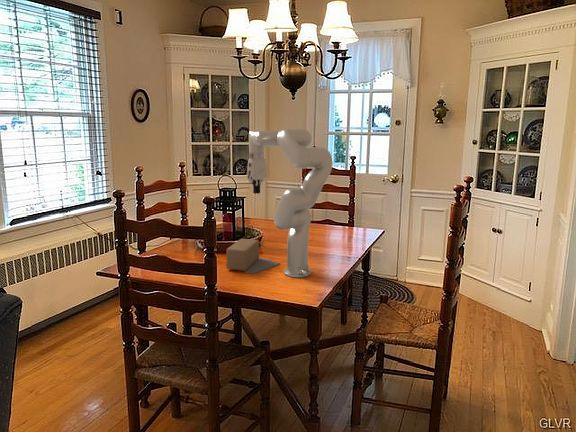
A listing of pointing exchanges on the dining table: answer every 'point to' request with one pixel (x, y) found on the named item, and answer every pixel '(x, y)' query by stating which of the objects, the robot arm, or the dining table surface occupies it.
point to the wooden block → (242, 254)
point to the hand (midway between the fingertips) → (256, 193)
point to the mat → (260, 266)
